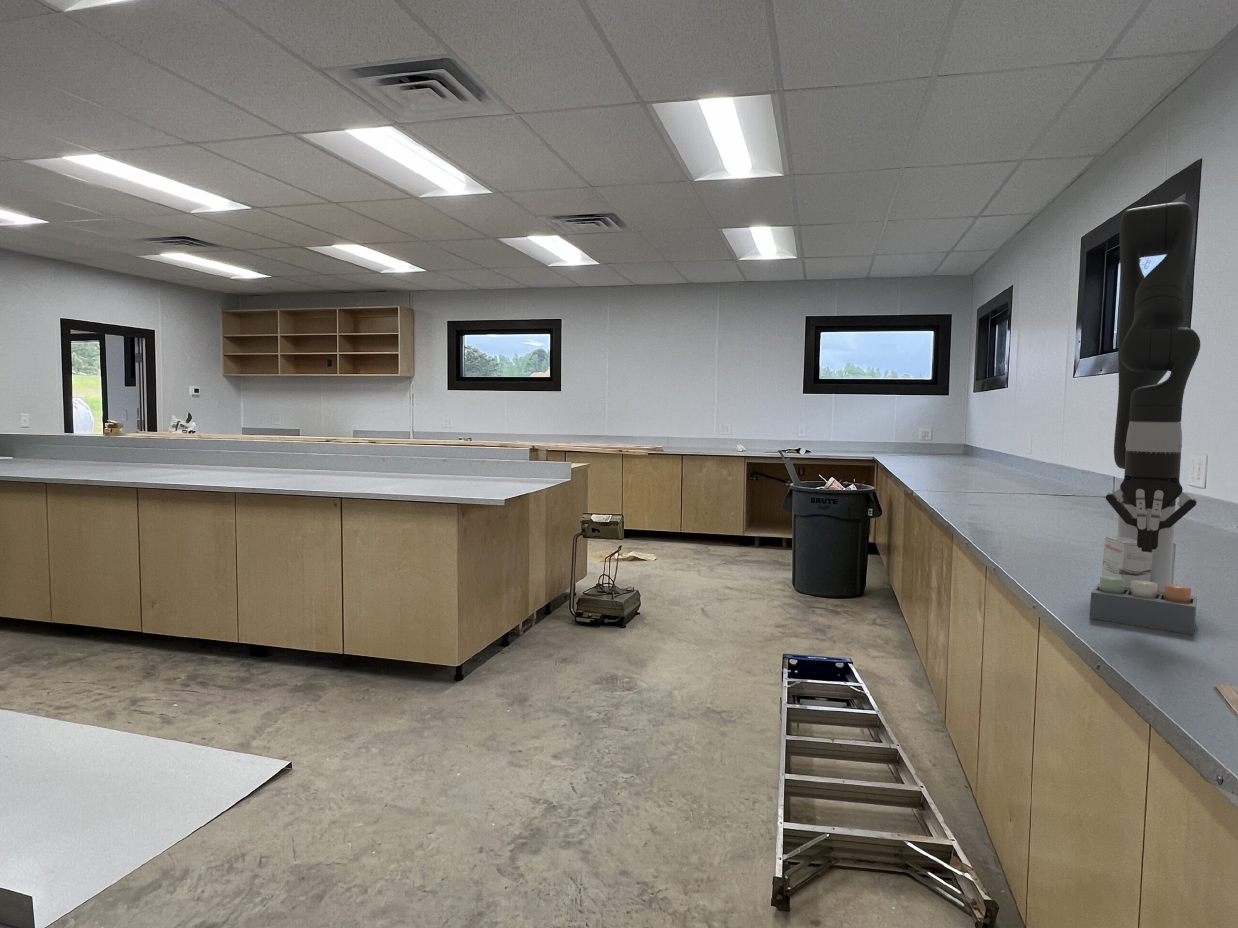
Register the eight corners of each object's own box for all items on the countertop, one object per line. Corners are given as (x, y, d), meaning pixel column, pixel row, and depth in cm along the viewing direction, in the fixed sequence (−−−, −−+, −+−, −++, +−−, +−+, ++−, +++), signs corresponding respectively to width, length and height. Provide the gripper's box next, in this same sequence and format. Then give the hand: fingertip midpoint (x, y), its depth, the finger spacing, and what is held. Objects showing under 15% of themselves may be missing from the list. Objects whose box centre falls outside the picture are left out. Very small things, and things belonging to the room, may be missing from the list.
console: (1096, 608, 133) (1098, 583, 132) (1195, 622, 124) (1197, 596, 123) (1089, 618, 126) (1091, 592, 125) (1193, 634, 117) (1195, 606, 116)
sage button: (1100, 592, 130) (1101, 575, 130) (1125, 595, 128) (1126, 578, 127) (1097, 595, 127) (1098, 578, 127) (1122, 599, 125) (1123, 581, 125)
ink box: (1150, 609, 132) (1154, 544, 132) (1119, 607, 133) (1123, 542, 133) (1127, 598, 141) (1131, 536, 140) (1098, 596, 142) (1102, 535, 141)
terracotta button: (1163, 600, 124) (1164, 583, 124) (1190, 604, 122) (1191, 586, 122) (1162, 604, 121) (1163, 586, 121) (1189, 608, 119) (1190, 590, 119)
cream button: (1131, 596, 127) (1132, 579, 127) (1157, 599, 125) (1158, 582, 124) (1129, 600, 124) (1130, 582, 124) (1155, 603, 122) (1156, 586, 122)
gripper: (1204, 449, 121) (1197, 553, 123) (1108, 446, 130) (1103, 543, 131) (1203, 451, 116) (1195, 560, 117) (1103, 448, 124) (1097, 549, 125)
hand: (1146, 551), depth 124 cm, fingers closed
